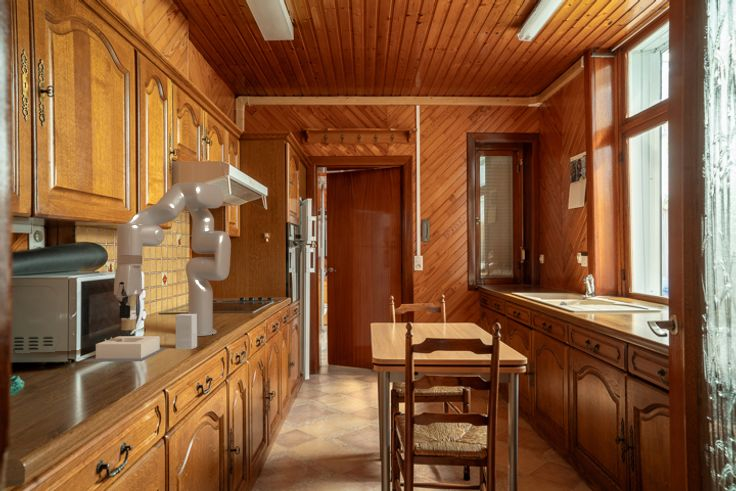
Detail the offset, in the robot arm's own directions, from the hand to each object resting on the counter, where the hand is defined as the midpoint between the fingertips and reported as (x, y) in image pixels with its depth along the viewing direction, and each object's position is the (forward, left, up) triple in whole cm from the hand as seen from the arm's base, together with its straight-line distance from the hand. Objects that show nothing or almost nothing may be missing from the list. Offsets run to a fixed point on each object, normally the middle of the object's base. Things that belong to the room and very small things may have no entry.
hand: (128, 316), depth 156 cm
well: (0, 0, -12) cm, 12 cm away
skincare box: (-10, +15, -13) cm, 22 cm away
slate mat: (+1, 0, -13) cm, 13 cm away
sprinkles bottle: (0, 0, -5) cm, 5 cm away
